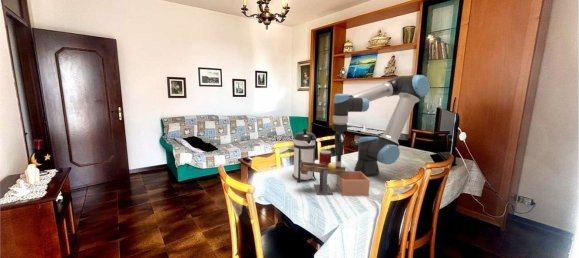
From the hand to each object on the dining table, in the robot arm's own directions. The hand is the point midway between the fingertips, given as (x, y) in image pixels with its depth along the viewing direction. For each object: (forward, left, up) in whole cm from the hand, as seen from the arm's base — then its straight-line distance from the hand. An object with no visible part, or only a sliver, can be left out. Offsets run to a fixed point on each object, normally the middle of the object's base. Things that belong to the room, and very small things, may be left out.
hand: (338, 166), depth 129 cm
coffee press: (+18, -12, -11) cm, 24 cm away
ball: (+5, +6, +2) cm, 8 cm away
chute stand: (+9, +6, -11) cm, 15 cm away
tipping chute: (+9, +3, -2) cm, 10 cm away
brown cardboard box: (-6, +6, -11) cm, 14 cm away
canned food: (+1, -32, -11) cm, 33 cm away
